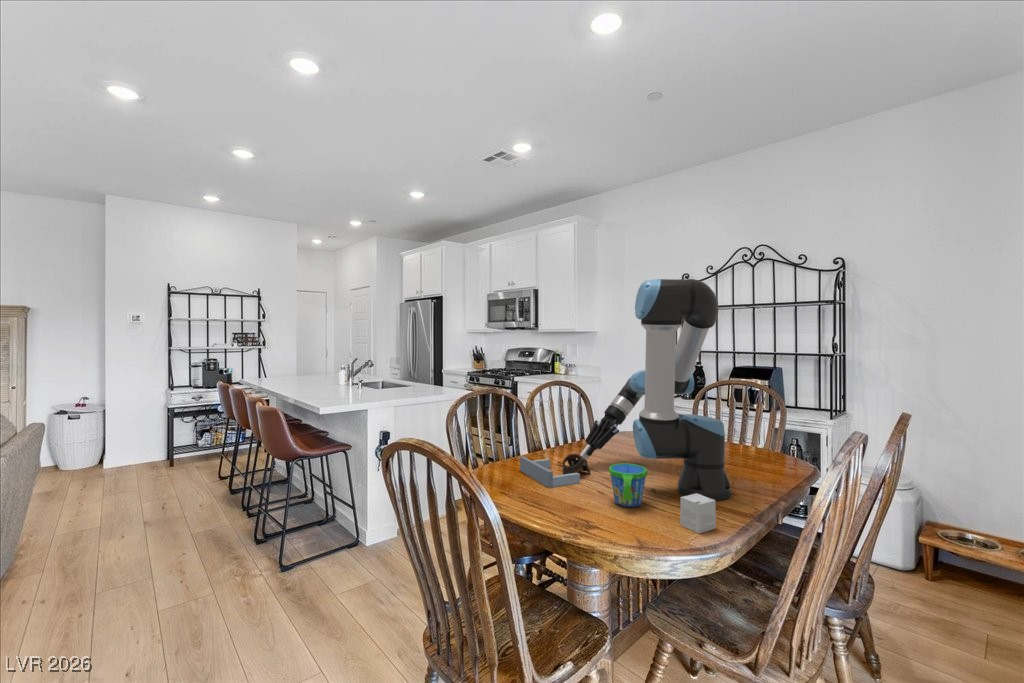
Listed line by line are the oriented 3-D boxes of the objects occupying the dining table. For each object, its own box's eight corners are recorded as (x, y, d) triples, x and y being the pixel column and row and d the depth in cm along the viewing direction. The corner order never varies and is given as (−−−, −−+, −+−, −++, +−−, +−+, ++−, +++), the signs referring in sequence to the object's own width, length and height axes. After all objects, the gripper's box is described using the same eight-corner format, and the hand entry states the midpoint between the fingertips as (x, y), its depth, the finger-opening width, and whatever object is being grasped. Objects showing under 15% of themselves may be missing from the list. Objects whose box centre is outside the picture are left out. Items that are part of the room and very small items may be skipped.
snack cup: (644, 515, 127) (644, 477, 127) (604, 510, 131) (604, 473, 131) (649, 496, 142) (649, 462, 142) (613, 492, 146) (613, 459, 146)
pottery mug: (597, 478, 162) (589, 459, 159) (572, 491, 161) (564, 473, 158) (582, 460, 173) (574, 443, 170) (559, 473, 172) (551, 455, 169)
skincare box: (696, 520, 124) (696, 492, 124) (716, 529, 118) (716, 499, 118) (679, 525, 121) (679, 496, 121) (699, 534, 115) (699, 504, 115)
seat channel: (548, 466, 175) (548, 453, 174) (579, 483, 155) (579, 467, 155) (520, 470, 170) (519, 456, 170) (548, 487, 151) (548, 472, 151)
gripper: (635, 420, 171) (597, 472, 165) (613, 414, 183) (577, 463, 177) (623, 406, 169) (583, 459, 163) (602, 401, 181) (564, 450, 175)
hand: (580, 461), depth 170 cm, fingers closed
